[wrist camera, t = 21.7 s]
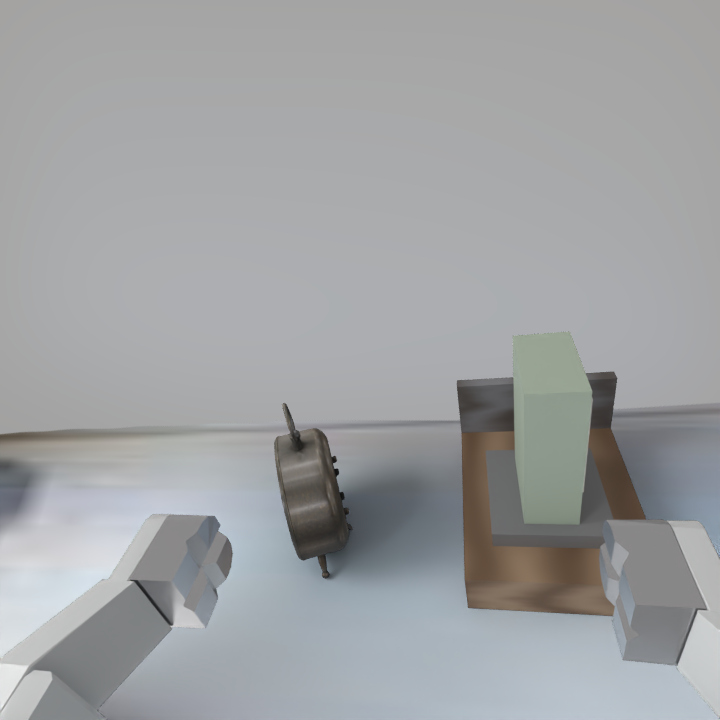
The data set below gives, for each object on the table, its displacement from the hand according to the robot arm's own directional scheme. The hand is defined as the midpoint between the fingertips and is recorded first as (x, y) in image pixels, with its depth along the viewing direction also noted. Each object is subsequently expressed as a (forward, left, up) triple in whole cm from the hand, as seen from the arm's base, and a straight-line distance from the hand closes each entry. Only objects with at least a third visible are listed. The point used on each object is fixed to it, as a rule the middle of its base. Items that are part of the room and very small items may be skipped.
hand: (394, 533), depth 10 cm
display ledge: (+7, +23, -30) cm, 38 cm away
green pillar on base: (+7, +22, -26) cm, 35 cm away
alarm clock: (-13, +21, -30) cm, 39 cm away
